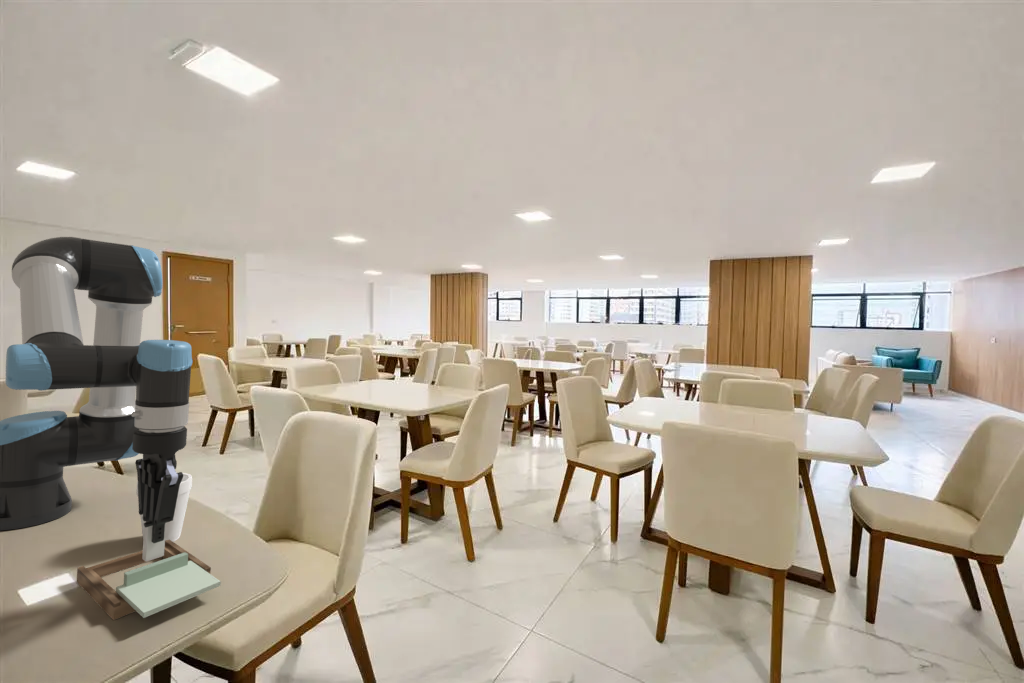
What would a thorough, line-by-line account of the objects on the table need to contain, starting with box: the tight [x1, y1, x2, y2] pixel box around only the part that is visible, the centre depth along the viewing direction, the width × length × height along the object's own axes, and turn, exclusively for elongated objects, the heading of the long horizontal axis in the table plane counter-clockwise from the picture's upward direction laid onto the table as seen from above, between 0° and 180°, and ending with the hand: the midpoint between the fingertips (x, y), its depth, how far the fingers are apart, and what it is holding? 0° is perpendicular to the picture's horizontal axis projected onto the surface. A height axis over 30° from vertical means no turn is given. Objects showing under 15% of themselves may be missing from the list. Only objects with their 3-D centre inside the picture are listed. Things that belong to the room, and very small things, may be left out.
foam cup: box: [136, 472, 193, 542], centre depth 96 cm, size 10×9×13 cm
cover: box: [115, 552, 222, 619], centre depth 76 cm, size 11×11×3 cm
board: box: [76, 539, 212, 621], centre depth 81 cm, size 17×14×3 cm
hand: (153, 557), depth 80 cm, fingers closed
